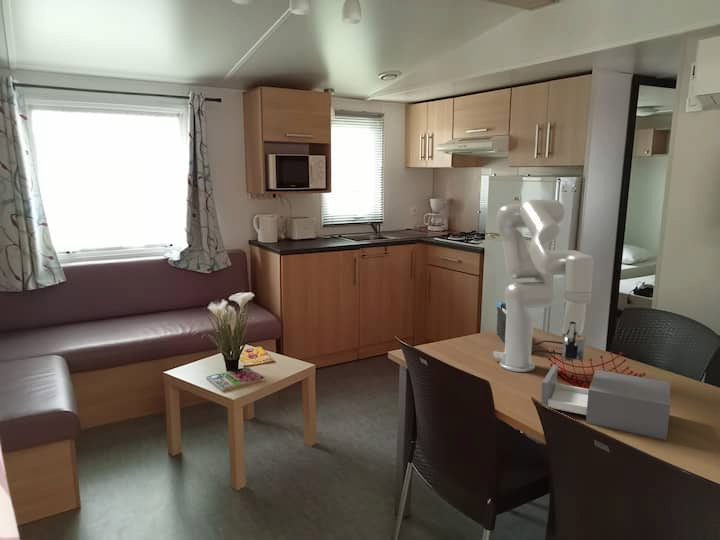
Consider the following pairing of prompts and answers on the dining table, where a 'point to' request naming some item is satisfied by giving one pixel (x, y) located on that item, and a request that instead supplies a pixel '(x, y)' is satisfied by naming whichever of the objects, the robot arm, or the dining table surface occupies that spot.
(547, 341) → the eyeglasses
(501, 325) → the game console
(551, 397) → the tray
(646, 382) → the block
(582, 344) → the tin
